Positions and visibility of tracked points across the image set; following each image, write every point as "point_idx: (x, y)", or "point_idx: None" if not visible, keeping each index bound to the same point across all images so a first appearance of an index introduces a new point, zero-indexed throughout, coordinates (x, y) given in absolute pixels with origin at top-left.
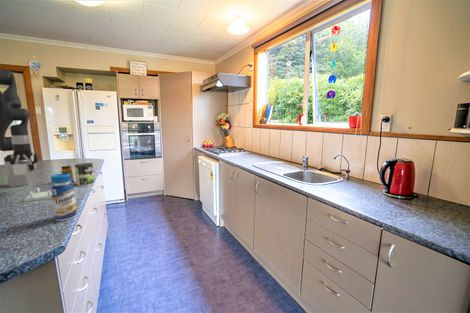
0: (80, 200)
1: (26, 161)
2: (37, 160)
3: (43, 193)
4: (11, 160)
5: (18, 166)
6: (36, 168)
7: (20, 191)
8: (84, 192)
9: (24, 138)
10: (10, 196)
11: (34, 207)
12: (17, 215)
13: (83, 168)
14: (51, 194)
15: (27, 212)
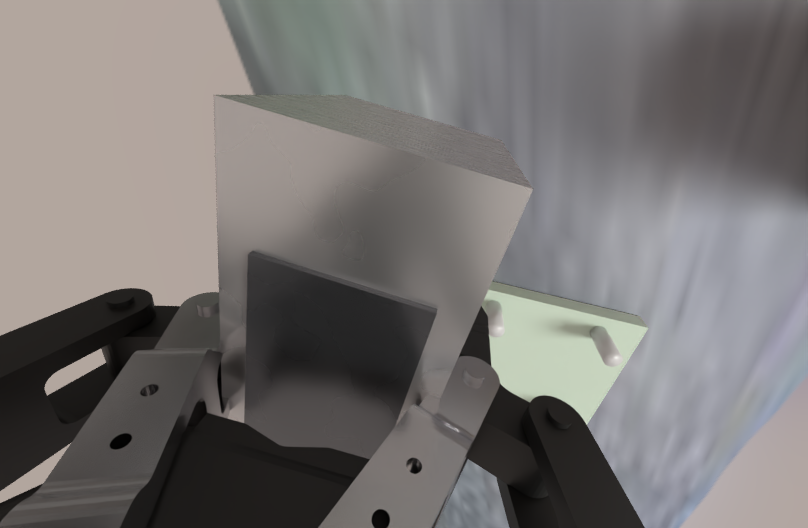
0: (682, 512)
1: (331, 346)
2: (602, 483)
3: (523, 340)
4: (66, 442)
5: None
6: (502, 144)
7: (344, 81)
8: (766, 407)
9: None
10: None
11: (489, 474)
12: (445, 509)
13: None
14: (568, 391)
15: (472, 505)
